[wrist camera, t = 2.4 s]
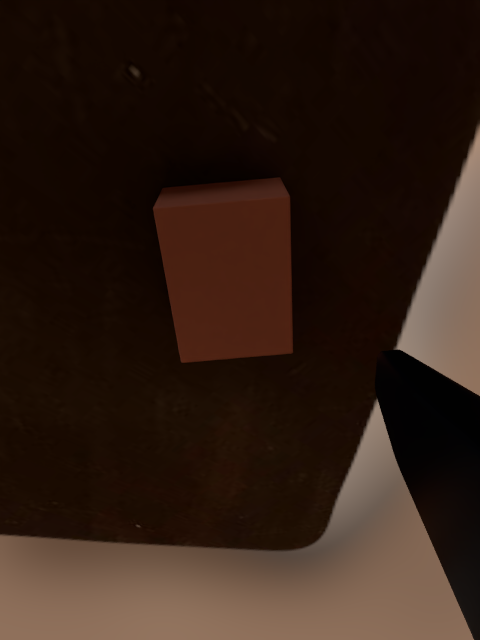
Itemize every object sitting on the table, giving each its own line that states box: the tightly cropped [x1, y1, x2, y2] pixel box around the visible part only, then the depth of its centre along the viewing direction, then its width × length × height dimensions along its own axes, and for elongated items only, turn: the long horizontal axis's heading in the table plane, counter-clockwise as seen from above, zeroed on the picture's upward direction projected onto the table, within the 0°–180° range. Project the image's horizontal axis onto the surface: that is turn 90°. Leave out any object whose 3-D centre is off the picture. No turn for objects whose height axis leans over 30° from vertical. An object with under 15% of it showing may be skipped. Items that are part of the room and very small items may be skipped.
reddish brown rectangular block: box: [153, 178, 293, 363], centre depth 19 cm, size 7×5×3 cm
